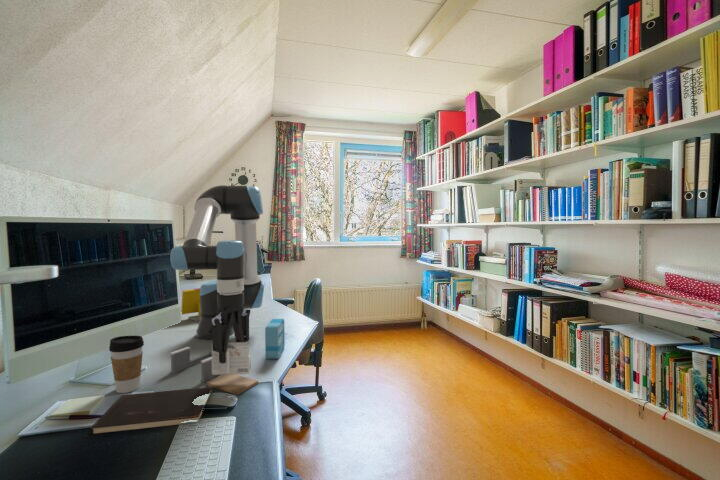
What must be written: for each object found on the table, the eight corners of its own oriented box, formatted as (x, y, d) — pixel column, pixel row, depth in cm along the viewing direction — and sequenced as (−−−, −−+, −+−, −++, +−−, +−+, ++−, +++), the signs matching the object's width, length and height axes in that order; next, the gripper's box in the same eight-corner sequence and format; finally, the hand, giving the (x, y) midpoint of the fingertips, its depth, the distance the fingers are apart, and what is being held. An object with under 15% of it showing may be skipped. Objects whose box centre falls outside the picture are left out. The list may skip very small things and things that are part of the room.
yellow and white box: (221, 313, 188) (221, 284, 188) (226, 316, 182) (226, 286, 181) (181, 319, 176) (180, 288, 175) (185, 323, 169) (184, 290, 169)
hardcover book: (198, 425, 85) (198, 415, 85) (91, 437, 80) (90, 427, 80) (212, 393, 100) (212, 385, 100) (122, 402, 96) (122, 393, 96)
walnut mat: (206, 385, 105) (206, 382, 105) (227, 374, 112) (227, 372, 112) (237, 394, 99) (237, 392, 99) (258, 383, 106) (258, 380, 106)
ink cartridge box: (214, 371, 106) (213, 339, 105) (251, 371, 106) (251, 339, 106) (211, 375, 103) (210, 342, 103) (249, 374, 104) (249, 342, 103)
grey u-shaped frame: (170, 372, 114) (170, 352, 113) (210, 356, 127) (210, 338, 127) (204, 382, 106) (203, 361, 106) (243, 364, 120) (242, 345, 120)
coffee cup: (114, 384, 105) (112, 335, 104) (147, 379, 108) (145, 332, 107) (107, 397, 97) (105, 344, 96) (142, 392, 100) (140, 340, 100)
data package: (278, 360, 124) (277, 327, 123) (265, 360, 123) (264, 327, 123) (284, 348, 135) (284, 317, 135) (273, 348, 135) (272, 317, 135)
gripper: (215, 299, 94) (216, 384, 95) (261, 288, 110) (262, 361, 111) (196, 296, 98) (198, 378, 99) (243, 286, 113) (244, 357, 114)
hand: (232, 369), depth 105 cm, fingers closed on ink cartridge box, 4 cm apart
